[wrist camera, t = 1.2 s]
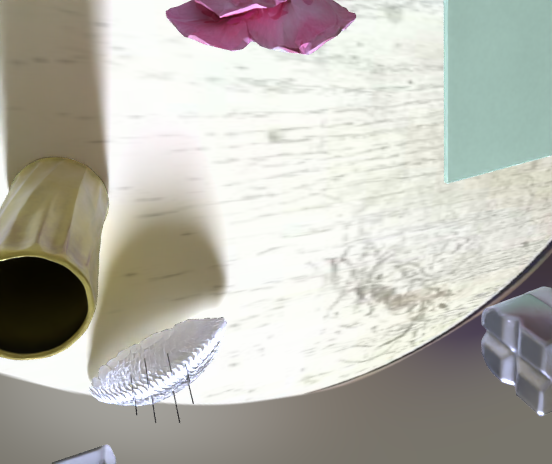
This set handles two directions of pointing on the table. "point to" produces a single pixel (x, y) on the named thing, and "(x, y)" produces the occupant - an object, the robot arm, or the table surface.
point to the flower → (261, 23)
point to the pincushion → (159, 364)
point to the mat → (496, 85)
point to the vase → (49, 257)
